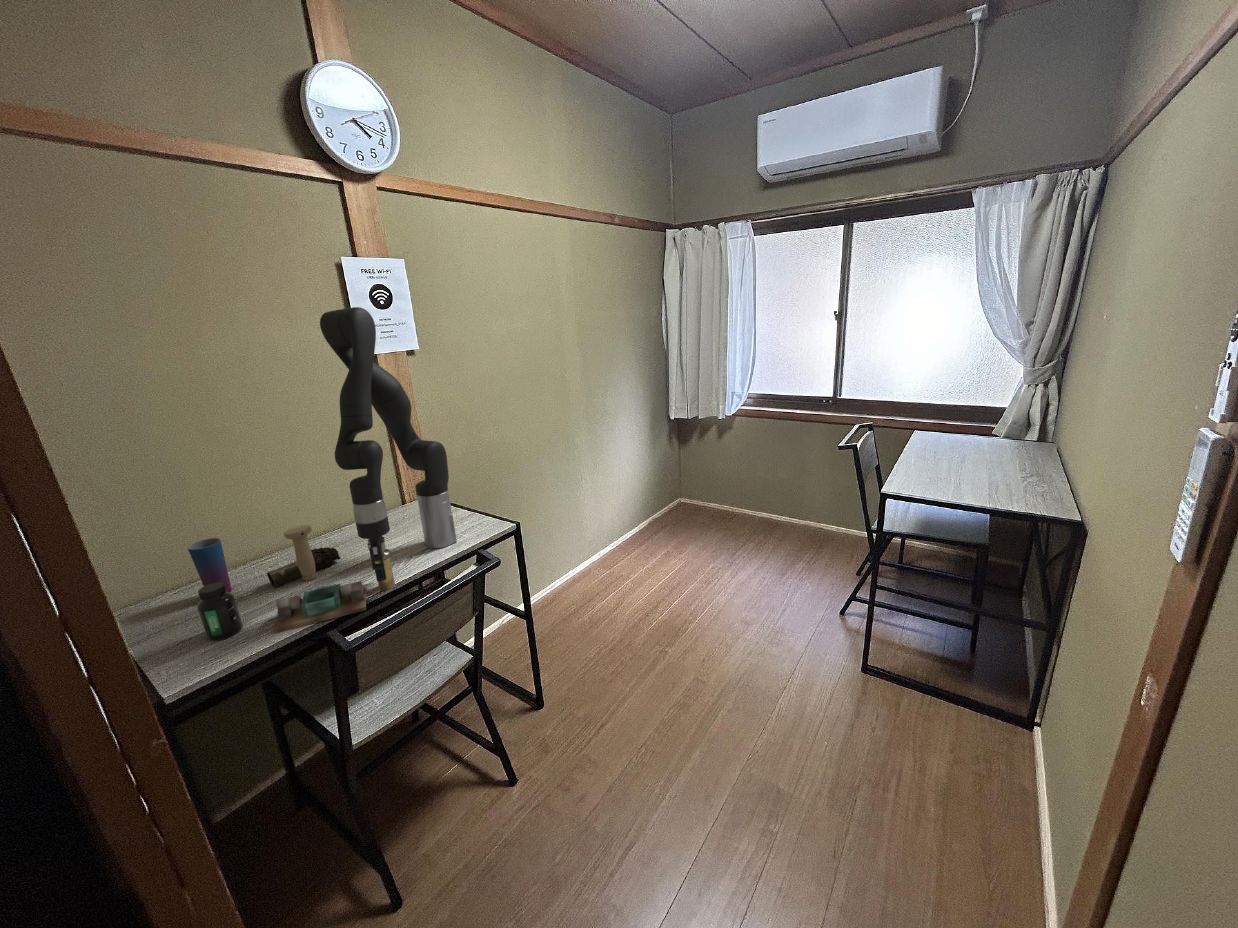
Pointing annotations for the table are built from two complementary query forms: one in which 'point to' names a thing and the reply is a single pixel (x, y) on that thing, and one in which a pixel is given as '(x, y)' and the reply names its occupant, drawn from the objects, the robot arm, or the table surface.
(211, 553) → the cup
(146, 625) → the table surface
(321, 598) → the shaft bench
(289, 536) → the handle
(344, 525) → the table surface
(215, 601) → the supplement bottle
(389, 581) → the cylinder
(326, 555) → the dark brown elongated piece
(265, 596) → the table surface
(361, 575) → the table surface
